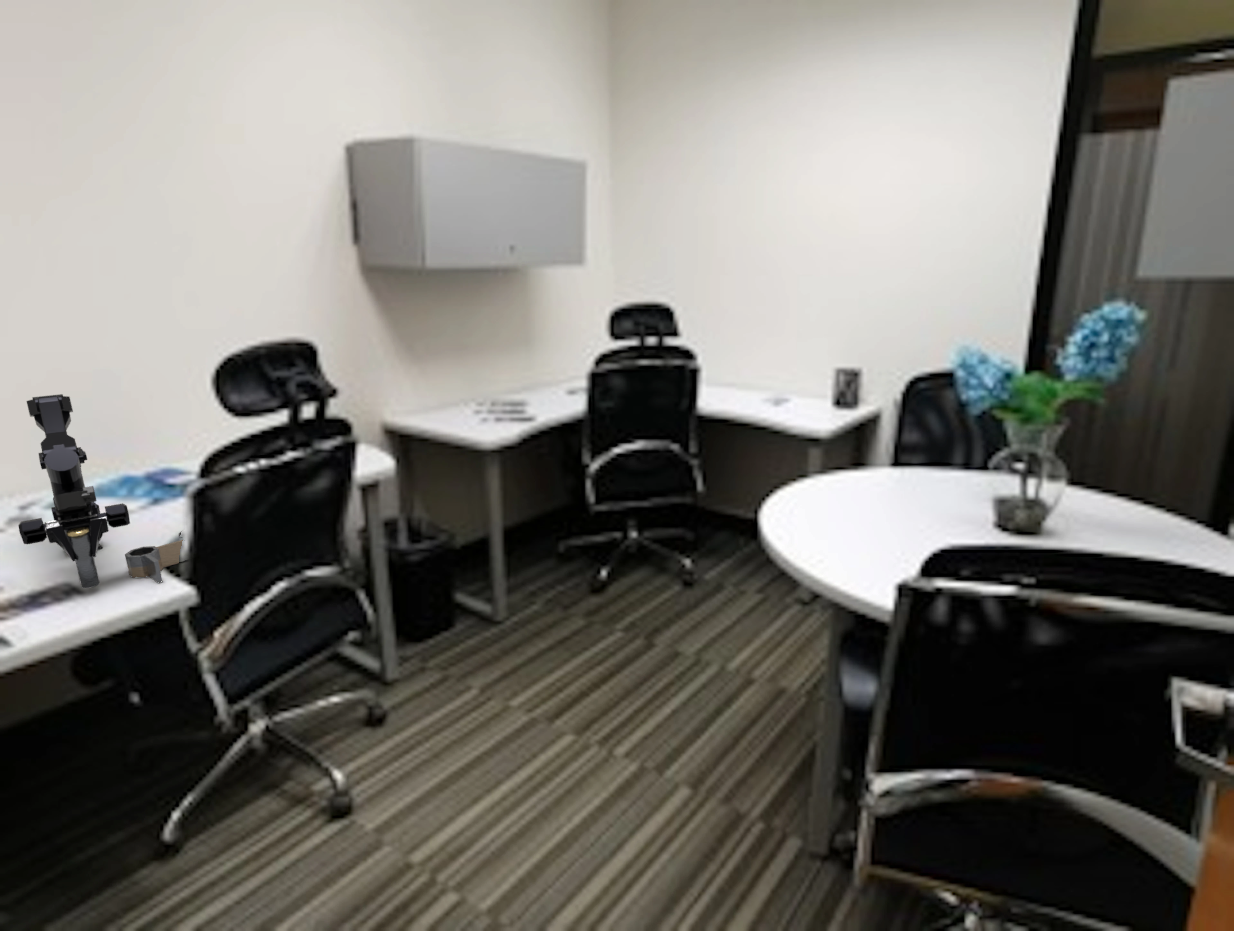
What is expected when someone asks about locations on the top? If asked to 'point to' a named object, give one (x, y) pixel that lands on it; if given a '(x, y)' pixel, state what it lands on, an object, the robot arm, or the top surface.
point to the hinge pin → (83, 557)
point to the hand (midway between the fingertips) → (84, 558)
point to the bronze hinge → (152, 559)
